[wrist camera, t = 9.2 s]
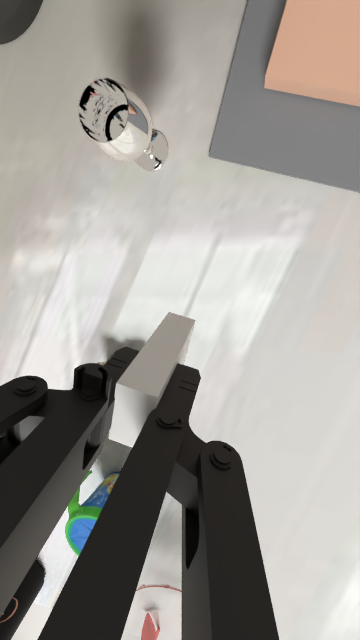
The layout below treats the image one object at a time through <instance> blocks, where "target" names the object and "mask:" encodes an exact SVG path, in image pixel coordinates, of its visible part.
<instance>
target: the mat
mask: <svg viewBox="0 0 360 640" xmlns="http://www.w3.org/2000/svg"><path fill="white" fill-rule="evenodd" d="M286 2H287V0H248V3H247V7H246V11H245V15H244V19H243V23H242V27H241V31H240V35H239V39H238V43H237V47H236V51H235V54H234V58H233V62H232V66H231V70H230V74H229V78H228V82H227V86H226V90H225V94H224V98H223V102H222V106H221V110H220V113H219V117H218V121H217V125H216V129H215V133H214V137H213V141H212V145H211V149H210V153H209V157H211V158H216V159H220V160H224V161H228V162H233V163H237V164H241V165H245V166H250V167H254V168H258V169H262V170H266V171H271V172H275V173H279V174H283V175H288V176H292V177H296V178H300V179H305V180H309V181H313V182H317V183H322V184H326V185H330V186H334V187H338V188H343V189H347V190H351V191H355V192H360V107H359V106H354V105H349V104H344V103H339V102H333V101H328V100H323V99H318V98H313V97H308V96H302V95H297V94H292V93H287V92H282V91H277V90H271V89H266V88H264V84H265V75H266V71H267V68H268V64H269V61H270V57H271V54H272V51H273V47H274V44H275V40H276V37H277V33H278V30H279V26H280V23H281V20H282V16H283V13H284V9H285V6H286Z"/></svg>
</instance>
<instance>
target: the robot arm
mask: <svg viewBox="0 0 360 640" xmlns="http://www.w3.org/2000/svg"><path fill="white" fill-rule="evenodd" d="M41 3H42V0H0V44H5V43H8V42H11V41H13V40H15V39H16V38H18V37H19V36H20V35H22V34H23V33H24V32H25V31H26V30H27V29H28V27H29V26H30V25H31V23H32V22H33V20H34V18H35V17H36V15H37V13H38V11H39V8H40V6H41ZM194 324H195V320H193V319H190V318H187V317H184V316H180V315H177V314H174V313H170V312H169V313H168V314H167V316H166V317H165V318H164V320H163V321H162V322H161V324H160V325H159V326H158V328H157V329H156V330H155V332H154V333H153V334H152V336H151V337H150V338H149V340H148V341H147V342H146V344H145V345H144V346H143V348H142V349H141V351H137V350H134V349H131V348H128V347H124V348H122V349H119V350H117V351H116V352H115V353H114V354H113V355H112V356H111V358H110V359H109V360H108V361H107V362H106V364H104V365H100V364H95V363H88V364H83V365H80V366H78V367H77V368H75V369H74V385H73V389H72V390H54V389H48V386H47V382H46V381H45V380H44V379H42V378H40V377H37V376H23V377H19V378H16V379H13V380H11V381H9V382H7V383H5V384H4V385H2V386H0V617H1V616H2V614H3V612H4V611H5V609H6V607H7V606H8V604H9V602H10V601H11V599H12V597H13V596H14V594H15V592H16V591H17V589H18V587H19V586H20V584H21V582H22V581H23V579H24V577H25V576H26V574H27V572H28V571H29V569H30V567H31V566H32V564H33V563H34V561H35V559H36V558H37V556H38V554H39V553H40V551H41V549H42V548H43V546H44V544H45V543H46V541H47V539H48V538H49V536H50V534H51V533H52V531H53V529H54V528H55V526H56V524H57V523H58V521H59V519H60V518H61V516H62V514H63V513H64V511H65V510H66V508H67V506H68V505H69V503H70V501H71V500H72V498H73V496H74V495H75V493H76V491H77V490H78V488H79V486H80V485H81V483H82V481H83V480H84V478H85V476H86V475H87V473H88V471H89V470H90V468H91V466H92V465H93V463H94V461H95V460H96V458H97V457H98V455H99V453H100V452H101V449H102V446H103V441H104V438H105V436H106V434H107V433H108V431H109V437H108V439H110V440H113V441H116V442H118V443H121V444H124V445H126V446H129V447H132V450H131V452H130V454H129V456H128V458H127V460H126V462H125V464H124V466H123V468H122V470H121V472H120V474H119V476H118V478H117V480H116V482H115V484H114V486H113V488H112V490H111V492H110V494H109V496H108V498H107V500H106V502H105V504H104V506H103V508H102V510H101V512H100V514H99V516H98V518H97V520H96V522H95V525H94V527H93V529H92V531H91V533H90V535H89V537H88V539H87V541H86V543H85V545H84V547H83V549H82V551H81V553H80V555H79V557H78V559H77V561H76V563H75V565H74V567H73V569H72V571H71V573H70V575H69V577H68V579H67V581H66V583H65V585H64V587H63V589H62V591H61V593H60V595H59V597H58V599H57V601H56V603H55V605H54V607H53V609H52V612H51V614H50V616H49V618H48V620H47V622H46V624H45V626H44V628H43V630H42V632H41V634H40V636H39V638H38V640H121V637H122V634H123V630H124V627H125V624H126V621H127V617H128V614H129V611H130V608H131V604H132V601H133V598H134V595H135V591H136V588H137V585H138V582H139V578H140V575H141V572H142V568H143V565H144V562H145V559H146V555H147V552H148V549H149V546H150V542H151V539H152V536H153V533H154V529H155V526H156V523H157V520H158V516H159V513H160V510H161V507H162V503H163V500H164V497H165V494H166V492H168V493H169V494H170V495H171V496H172V497H174V498H175V499H176V500H177V501H178V502H180V503H181V504H182V640H279V636H278V631H277V627H276V622H275V617H274V612H273V607H272V603H271V598H270V593H269V588H268V583H267V579H266V574H265V569H264V564H263V560H262V555H261V550H260V545H259V540H258V536H257V531H256V526H255V521H254V516H253V512H252V507H251V502H250V497H249V492H248V488H247V483H246V478H245V473H244V468H243V464H242V460H241V458H240V455H239V454H238V453H237V451H236V450H235V449H234V448H233V447H231V446H230V445H228V444H227V443H224V442H221V441H210V442H208V443H205V442H204V441H202V440H201V439H200V438H198V437H197V436H196V435H195V434H194V433H193V431H192V430H191V428H190V426H189V415H190V412H191V409H192V405H193V402H194V399H195V395H196V392H197V389H198V385H199V382H200V379H201V377H200V374H199V370H197V369H194V368H191V367H188V366H185V365H183V363H184V361H185V357H186V354H187V350H188V346H189V342H190V339H191V335H192V331H193V327H194Z"/></svg>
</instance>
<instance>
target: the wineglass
mask: <svg viewBox="0 0 360 640" xmlns="http://www.w3.org/2000/svg"><path fill="white" fill-rule="evenodd" d="M78 117H79V122H80V124H81V127H82V129H83V131H84V132H85V134H86V135H87V136H88V138H89V139H90V140H91V142H92V143H93V144H94V145H95V146H96V147H97V148H98V149H99V150H100V151H101V152H102V153H104V154H105V155H107V156H108V157H110V158H112V159H114V160H118V161H132V160H136V163H137V164H138V165H139V166H140V167H141V168H142V169H144V170H146V171H155V170H157V169H159V168H160V167H162V166H163V164H164V163H165V161H166V159H167V156H168V144H167V141H166V139H165V137H164V136H163V135H162V134H161V133H160V132H158V131H156V130H152V122H151V117H150V114H149V112H148V109H147V107H146V105H145V104H144V102H143V101H142V100H141V98H140V97H139V96H138V95H137V94H136V93H135V92H134V91H132V90H131V89H130V88H128V87H126V86H125V85H123V84H121V83H119V82H117V81H115V80H112V79H109V78H98V79H95V80H93V81H91V82H90V83H89V84H88V85H87V86H86V87H85V88H84V90H83V92H82V93H81V96H80V99H79V103H78Z"/></svg>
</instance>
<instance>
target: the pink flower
mask: <svg viewBox="0 0 360 640" xmlns="http://www.w3.org/2000/svg"><path fill="white" fill-rule="evenodd" d="M143 586H145V585H143ZM164 586H169V585H164ZM164 586H147V587H164ZM140 587H141V586H140ZM143 588H146V587H143ZM165 588H170V587H165ZM140 589H142V588H140ZM170 589H174V588H170ZM138 590H139V589H138ZM174 590H177V589H174ZM136 591H137V590H136ZM178 591H180V590H178ZM180 592H182V591H180ZM159 631H160V629H159V628H158V629H157V632H155V626H154V624H153V622H152V619H151V617H150V615H149V613H147V615H146V618H145V621H144V625H143V628H142V636H141V640H156V639H157V636H158V634H159Z"/></svg>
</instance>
